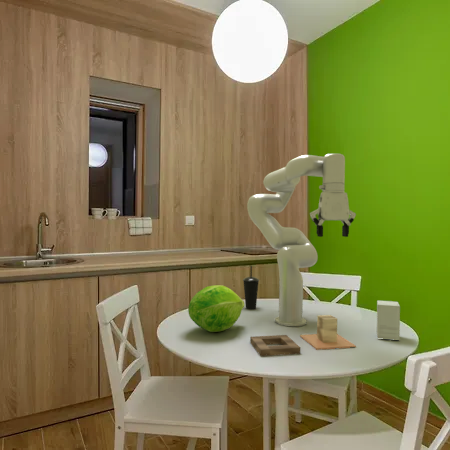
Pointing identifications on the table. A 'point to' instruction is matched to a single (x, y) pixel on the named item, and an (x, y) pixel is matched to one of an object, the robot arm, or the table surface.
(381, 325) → the supplement box
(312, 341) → the pad
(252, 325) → the table surface
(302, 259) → the robot arm
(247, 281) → the drinking cup
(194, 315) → the lettuce
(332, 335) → the maple block
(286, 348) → the pocket block
